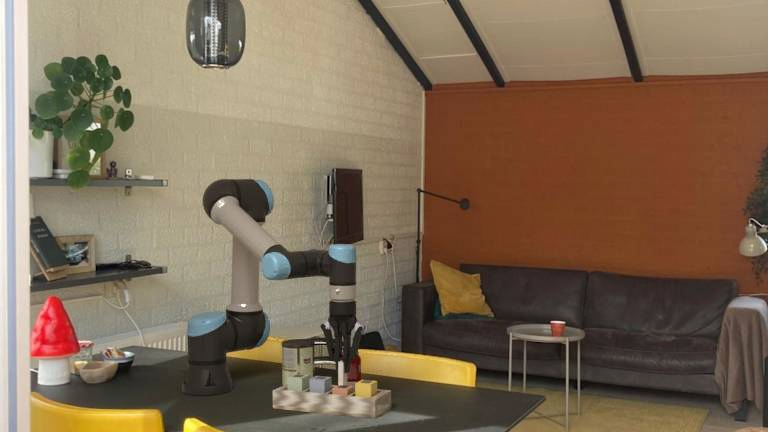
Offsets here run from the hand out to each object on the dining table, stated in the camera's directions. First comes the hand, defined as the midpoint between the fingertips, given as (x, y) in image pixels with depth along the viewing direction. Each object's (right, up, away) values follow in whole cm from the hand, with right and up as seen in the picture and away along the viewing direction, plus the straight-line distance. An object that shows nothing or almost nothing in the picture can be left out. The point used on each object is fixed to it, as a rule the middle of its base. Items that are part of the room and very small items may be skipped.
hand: (342, 384), depth 235 cm
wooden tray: (-3, -7, +1) cm, 8 cm away
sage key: (-13, -4, +5) cm, 14 cm away
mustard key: (+7, -4, -3) cm, 8 cm away
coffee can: (-15, -7, +28) cm, 32 cm away
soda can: (+1, -7, +20) cm, 21 cm away
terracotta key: (0, -6, 0) cm, 6 cm away
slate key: (-6, -4, +3) cm, 8 cm away
